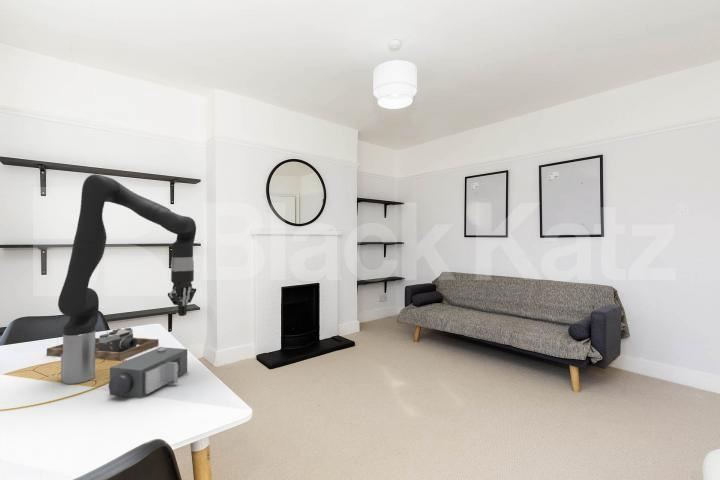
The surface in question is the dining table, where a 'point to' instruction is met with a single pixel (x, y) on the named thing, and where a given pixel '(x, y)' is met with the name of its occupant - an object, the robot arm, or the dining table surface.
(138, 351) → the camera corral
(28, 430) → the dining table surface
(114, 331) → the camera
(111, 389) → the camera housing
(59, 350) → the charger corral
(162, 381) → the battery door
